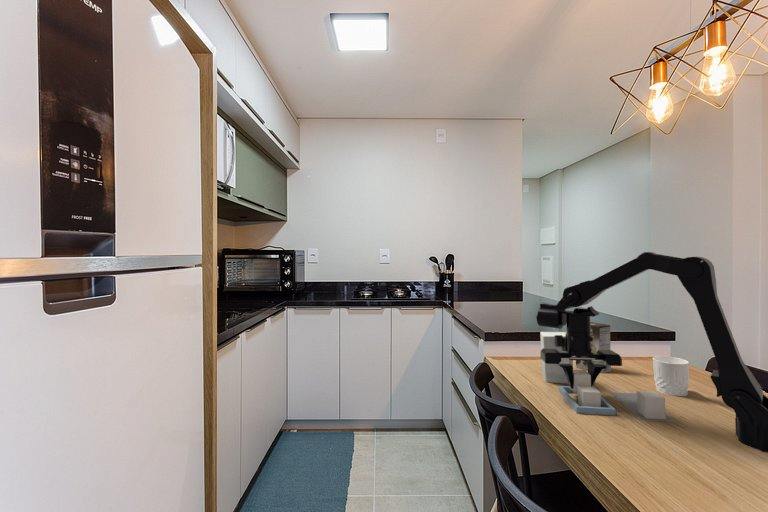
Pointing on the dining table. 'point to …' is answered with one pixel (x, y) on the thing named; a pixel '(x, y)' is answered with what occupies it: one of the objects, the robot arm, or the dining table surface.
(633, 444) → the dining table surface
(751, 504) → the dining table surface
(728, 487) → the dining table surface
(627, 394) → the slate board
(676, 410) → the dining table surface
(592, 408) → the blue bin
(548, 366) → the skincare box
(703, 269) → the robot arm
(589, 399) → the stone
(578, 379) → the stone
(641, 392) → the stone
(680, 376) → the white cup
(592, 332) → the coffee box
